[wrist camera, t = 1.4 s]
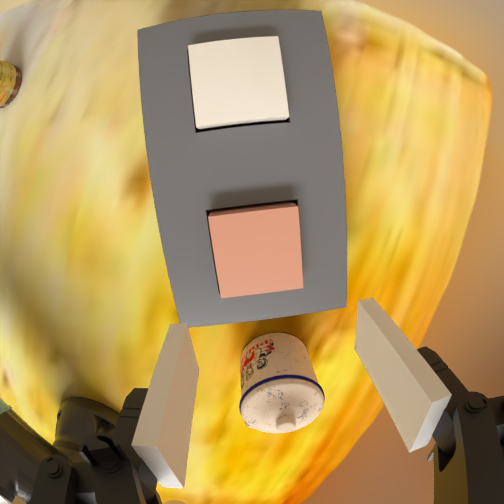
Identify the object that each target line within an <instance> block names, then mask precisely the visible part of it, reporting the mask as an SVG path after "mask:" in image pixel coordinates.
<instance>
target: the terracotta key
mask: <svg viewBox="0 0 504 504" xmlns="http://www.w3.org/2000/svg"><path fill="white" fill-rule="evenodd" d="M208 220H209V227H210V233H211V240H212V246H213V252H214V259H215V265H216V271H217V277H218V283H219V289H220V295H221V298H228V297H237V296H246V295H254V294H262V293H270V292H278V291H285V290H293V289H300V288H303V272H302V254H301V239H300V224H299V211H298V206H297V205H296V204H295V203H294V202H292V201H291V200H287V201H277V202H268V203H259V204H251V205H242V206H234V207H226V208H218V209H212V210H211V212H210V214H209V216H208Z"/></svg>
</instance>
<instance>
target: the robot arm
mask: <svg viewBox="0 0 504 504" xmlns="http://www.w3.org/2000/svg"><path fill="white" fill-rule="evenodd" d="M355 351H356V352H357V354H358V356H359V358H360V359H361V361H362V363H363V365H364V367H365V369H366V370H367V372H368V374H369V376H370V378H371V380H372V381H373V383H374V385H375V387H376V389H377V391H378V393H379V394H380V396H381V398H382V400H383V402H384V404H385V406H386V407H387V409H388V411H389V413H390V415H391V417H392V419H393V421H394V423H395V425H396V427H397V429H398V431H399V433H400V435H401V437H402V439H403V441H404V443H405V445H406V447H407V448H408V450H409V452H411V451H413V450H416V449H418V448H421V447H423V446H426V445H427V444H428V443H429V441H430V439H431V437H432V436H433V438H434V439H435V441H436V444H435V446H434V448H433V449H432V451H431V453H430V454H429V456H428V459H427V462H429V461H430V460H431V458H432V457H433V455H434V504H504V396H500V397H495V398H489V399H488V398H487V397H485V396H484V395H483V394H481V393H478V392H469V391H468V390H467V389H466V388H465V387H464V385H463V384H462V383H461V382H460V380H459V379H458V378H457V377H456V376H455V374H454V373H453V372H452V371H451V370H450V369H448V366H447V365H446V364H445V363H444V362H443V361H442V359H441V358H440V357H439V356H438V354H437V353H436V352H434V351H433V350H431V349H429V348H427V347H422V348H419V349H416V348H415V347H414V346H413V344H412V343H411V342H410V341H409V340H408V338H407V337H406V336H405V335H404V334H403V332H402V331H401V330H400V329H399V328H398V326H397V325H396V324H395V323H394V322H393V320H392V319H391V318H390V317H389V316H388V315H387V313H386V312H385V311H384V310H383V309H382V308H381V306H380V305H379V304H378V303H377V302H376V301H375V299H374V298H370V299H365V300H359V301H358V312H357V326H356V339H355ZM198 375H199V367H198V364H197V360H196V357H195V353H194V349H193V346H192V342H191V338H190V334H189V330H188V326H187V323H180V324H170V326H169V329H168V332H167V335H166V338H165V341H164V343H163V346H162V349H161V352H160V355H159V358H158V361H157V364H156V367H155V370H154V373H153V376H152V379H151V382H150V385H149V388H134V389H133V390H132V391H131V393H130V394H129V395H128V396H127V397H126V399H125V402H124V404H123V407H122V408H123V409H122V410H121V412H120V415H119V414H118V413H116V412H115V411H113V410H112V409H110V408H108V407H106V406H104V405H102V404H100V403H98V402H95V401H92V400H89V399H85V398H77V397H74V398H69V399H66V400H65V401H64V402H63V403H62V405H61V407H60V409H59V411H58V414H57V424H56V433H55V441H54V443H53V445H51V444H50V443H49V442H47V441H46V440H45V439H44V438H43V437H41V436H40V435H39V434H38V433H37V432H36V431H35V430H33V429H32V428H31V427H30V426H29V425H28V424H27V423H26V422H25V421H24V420H23V419H22V418H20V417H19V416H18V415H17V414H16V413H15V412H14V411H13V410H12V409H11V408H12V407H11V406H10V405H7V404H6V403H5V402H4V401H3V400H2V399H1V398H0V504H11V503H12V502H13V500H14V498H15V496H17V497H19V498H20V499H22V500H23V501H25V502H26V504H162V502H161V499H160V496H159V494H158V492H157V491H156V485H157V481H158V482H159V483H160V484H161V486H162V487H168V488H184V485H185V476H186V467H187V458H188V450H189V442H190V434H191V426H192V418H193V410H194V403H195V396H196V389H197V382H198Z"/></svg>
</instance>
